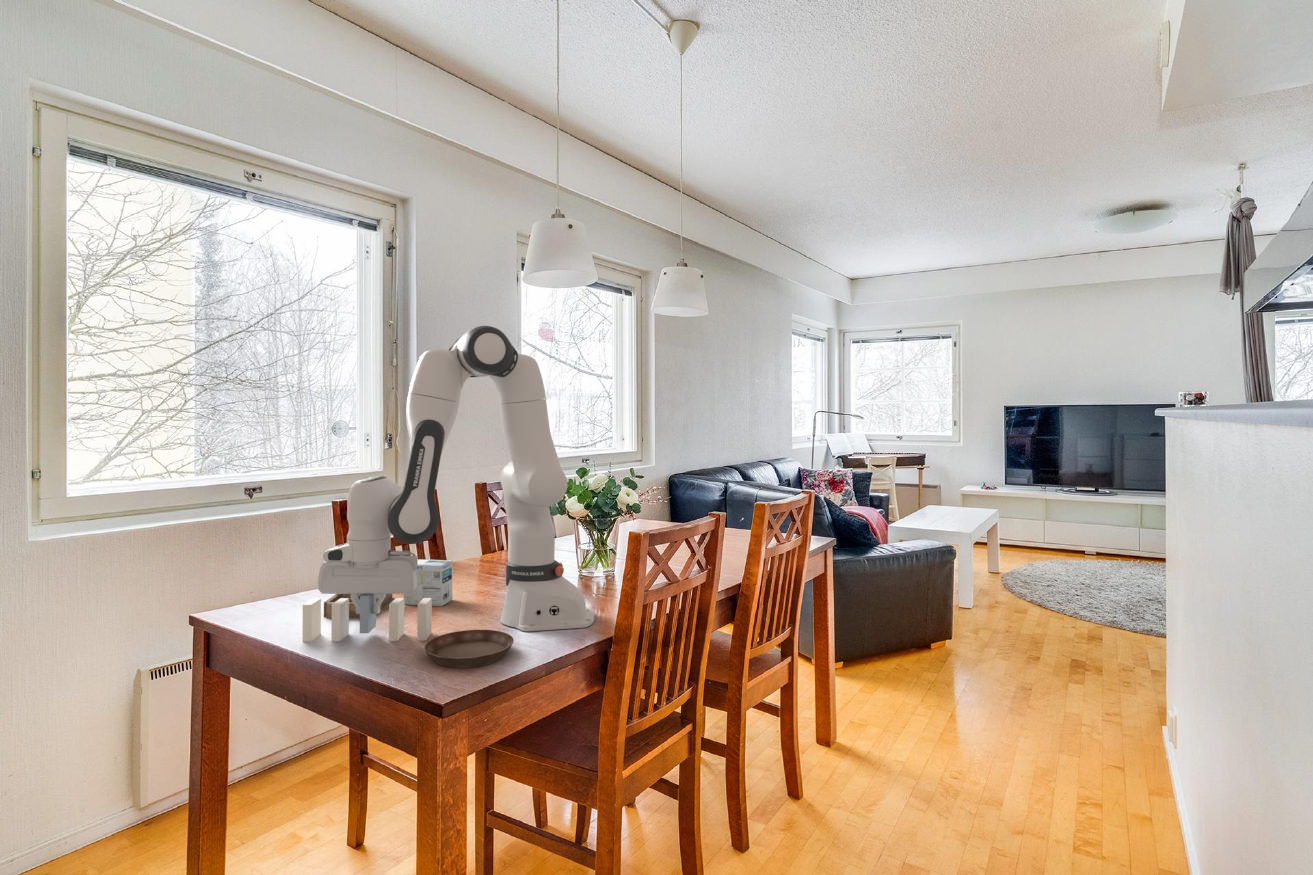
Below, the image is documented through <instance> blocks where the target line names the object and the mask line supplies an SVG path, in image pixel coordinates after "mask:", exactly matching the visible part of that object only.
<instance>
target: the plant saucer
mask: <svg viewBox="0 0 1313 875" xmlns="http://www.w3.org/2000/svg"><path fill="white" fill-rule="evenodd" d="M514 641H515V640H514V637H513V636H512V635H510V634H509V633H507V632H503V631H499V630H493V629H467V630H458V631H453V632H448V633H444V634H441V635H438V636H435V637H433V638H431V639H430V640H428V641H427V642H426V643H425V644H424V647H423V649H424V651H425V653H426V655H427V656H428V657H429V658H430V659H431V660H432V661H433V662H434V663H436V664H438V665H439V666H442V667H445V668H446V667H447V668H453V669H454V668H455V669H467V668H475V667H476V668H477V667H482V666H486V665H490V664H493V663H496V662H497V661H499V660H501V659H503V657H505V656H506V654H507V653H508V652H509V651H510V649H511V648H512V645H513V644H514Z"/></svg>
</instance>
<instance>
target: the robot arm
mask: <svg viewBox="0 0 1313 875" xmlns="http://www.w3.org/2000/svg"><path fill="white" fill-rule="evenodd" d="M415 366H416V367H415V368H414V369H415V370H414V371H413V375H412V378H411V381H410V385H409V390H408V394H407V400H406V410H405V412H406V413H405V414H406V415H405V423H406V428H407V433H408V437H409V438H408V439H409V449H410V450H409V456H408V461H407V462H408V464H407V469H406V474H405V479H404V483H403V485H401V484H398V483H396V482H394V481H393V480H391V479H390V478H389V477H388V476H384V475H377V476H376V475H375V476H368V477H363V478H361V479H358V480H356V481H355V482H353V483H352V485H351V486H350V488H349V491H348V496H347V504H346V505H347V510H346V518H347V522H348V532H347V535H346V543H342V544H341V543H340V544H339V545H335V546H333V547H330V548H328V549H326V550H325V551H324V552H323V553H322V559H323V561H324V562H323V563H322V564H321V565H320V567H319V571H318V572H319V573H318V577H317V578H318V579H317V590H318V591H319V592H320V594H322V595H323V594H324V595H327V594H328V595H329V594H330V595H332V594H333V595H335V594H351V600H350V601H351V602H353V603H354V605H355V606H356V614H360V598H358V597H359V596H360V594H377V599H379V600H378V602H377V603H376V604H373V605H372V606H371V610H372V611H371V614H376V615H377V614H380V613H381V608H382V607H381V603H382V602H383V600H384V598H385V597H386V594H392V595H396V594H397V595H404V594H410V593H412V592H413V591H414V590H415V589H416V587H417V575H416V568H417V562H418V556H417V555H416V554H415V553H414V552H412V551H411V550H391V545H392V544H391V542H392V541H391V539H392V538H391V535H392V536H393V538H395V539H396V540H397V541H399V542H401V543H403V544H406V545H407V544H408V545H417V544H421V543H424V542H425V541H428V540H429V539H430V538H431V537H432V536H433V535H434V534H435V533H436V531H437V530H438V527H439V523H440V517H439V511H438V508H437V504H436V500H435V499H436V498H435V496H436V495H435V494H436V492H435V491H436V486H437V480H438V475H439V474H438V473H439V471H440V470H439V468H440V463H441V458H442V453H443V452H444V447H445V446H446V443H447V440H448V438H449V435H450V434H451V431H452V429H453V426H454V424H455V420H456V418H457V414H458V411H459V405H460V401H461V395H462V389H463V387H464V385H465V382H466V381H467V380H468V379H469V378H481V377H489V378H491V380H492V381H493V382H494V384H495V387H496V390H497V395H498V396H497V397H498V398H497V399H498V406H499V408H498V409H499V415H500V423H501V430H502V436H503V440H504V441H505V443H506V446H507V450H508V452H509V456H510V459H511V460H510V461H509V462H507V464H505V465H504V467H503V468H502V470H501V472H500V479H499V481H500V484H501V487H502V492H503V500H504V501H503V502H504V510H505V515H506V521H507V522H506V523H507V531H508V532H507V538H508V539H507V560H506V564H505V585H506V591H505V598H504V604H503V609H502V613H501V617H500V619H499V621H500V622H501V624H503V625H505V626H508V627H512V628H515V629H517V630H520V631H522V632H537V631H552V630H565V629H566V630H568V629H578V628H579V629H582V628H588V627H589V626H591V625H593V624H594V622H595V619H596V618H595V612H594V611H593V610H592V609H590V608H588V607H587V606H586V600H585V597H584V594H583V592H582V590H581V589H580V588H579V587H578V586H576V585H574V584H573V583H572V582H570V581H569V580H568V579H567V578H566V577H564V576H563V574H564V571H565V568H564V565H563V564H562V562H561V561H560V562H559V561H557V560H556V559H555V546H556V545H555V540H556V538H555V537H556V536H555V535H556V532H555V531H556V530H555V529H556V528H555V525H554V523H553V520H552V517H551V511H550V507H551V506H555V505H556V504H559V503H560V502H561V501H562V500H563V498H564V497H565V495H566V493H567V491H568V479H567V476H566V474H565V473H564V471H563V469H562V467H561V463H560V461H559V457H558V454H557V450H556V447H555V444H554V440H553V437H552V434H551V428H550V422H549V421H550V420H549V414H548V406H547V397H546V390H545V385H544V381H543V377H542V373H541V369H540V366H539V364H538V361H537V360H536V359H535V358H533V357H532V356H530V355H527V354H520V353H518V351H517V350H516V348H515V347H514V346H513V344H512V343H511V341H510V340H509V338H508V336H507V335H506V334H505V332H503V331H501V330H500V329H499V328H497V327H495V326H490V325H480V326H476V327H474V328H471V329H468V330H467V331H465V332H464V333H463V334H462V335H461V336H460V337H458V338H457V339H456V341H455V342H454V343H453V344H452V345H451V346H450V347H449V349H448V350H447V349H442V348H433V349H429V350H426V351H424V352H423V353H422V354H421V355H420V356H419V358H418V361H417V364H416V365H415ZM380 607H381V608H380Z"/></svg>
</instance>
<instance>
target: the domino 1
mask: <svg viewBox="0 0 1313 875" xmlns="http://www.w3.org/2000/svg"><path fill="white" fill-rule="evenodd" d="M321 621H322V598H321V597H319V598H316V597H315V598H311V599H309V600H308V601H306V602H305V603H303V604H302V642H303V643H304V642H307V643H309V642H310V643H311V642H313V641H314V640H316V639H317V638H318V637H319V636H321V634H322V632H321V631H322V629H321V628H322V627H321V626H322V622H321Z"/></svg>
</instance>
